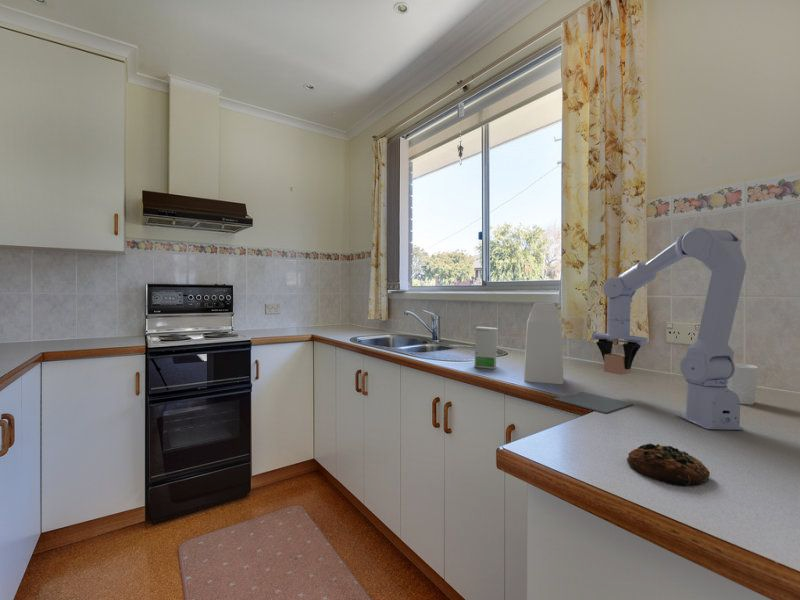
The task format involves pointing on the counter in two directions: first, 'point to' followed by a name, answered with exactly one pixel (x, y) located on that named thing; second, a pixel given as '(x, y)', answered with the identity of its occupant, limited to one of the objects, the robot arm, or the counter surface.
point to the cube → (615, 364)
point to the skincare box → (486, 347)
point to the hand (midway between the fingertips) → (617, 367)
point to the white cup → (744, 382)
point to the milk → (543, 345)
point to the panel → (594, 402)
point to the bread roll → (668, 465)
